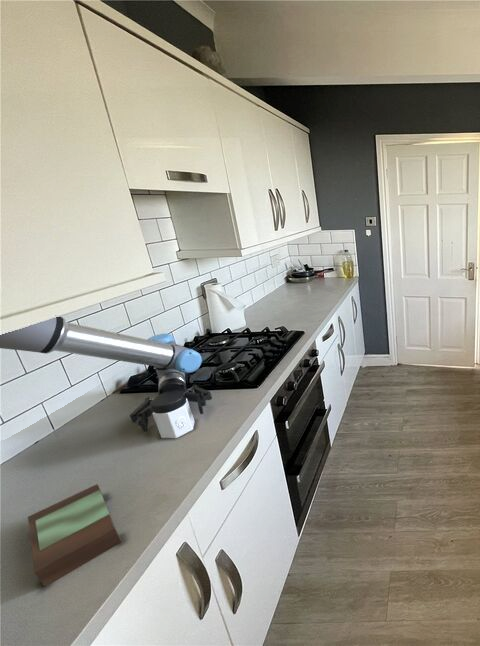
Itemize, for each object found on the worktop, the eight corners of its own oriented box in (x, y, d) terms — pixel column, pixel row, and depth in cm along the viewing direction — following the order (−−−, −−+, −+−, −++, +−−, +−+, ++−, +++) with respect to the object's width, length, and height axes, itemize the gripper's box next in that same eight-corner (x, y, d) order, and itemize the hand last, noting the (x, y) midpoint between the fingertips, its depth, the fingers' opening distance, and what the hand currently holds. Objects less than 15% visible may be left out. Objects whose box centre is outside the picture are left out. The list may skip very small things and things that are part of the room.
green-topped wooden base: (38, 533, 74) (27, 515, 72) (105, 499, 82) (97, 483, 80) (46, 590, 63) (34, 571, 61) (123, 545, 71) (114, 527, 69)
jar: (168, 445, 99) (155, 410, 95) (156, 435, 103) (143, 401, 99) (201, 428, 106) (191, 394, 102) (188, 419, 110) (178, 387, 106)
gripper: (217, 385, 125) (225, 413, 108) (128, 410, 111) (122, 447, 95) (212, 367, 122) (219, 393, 106) (120, 390, 109) (112, 424, 92)
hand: (173, 418), depth 100 cm, fingers open, 13 cm apart
